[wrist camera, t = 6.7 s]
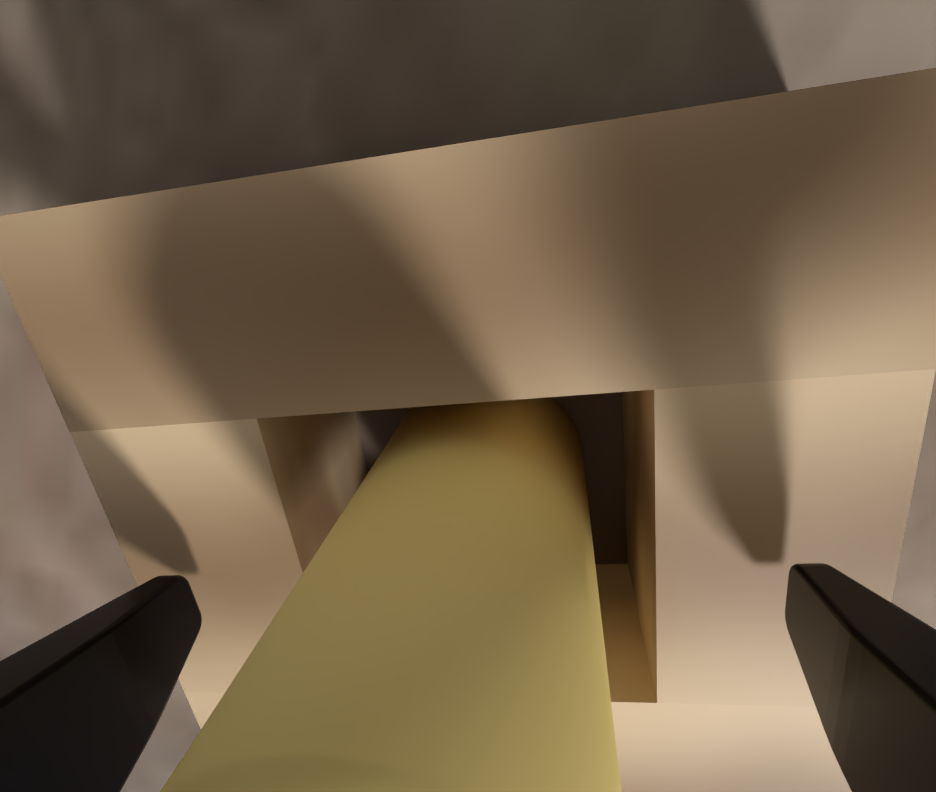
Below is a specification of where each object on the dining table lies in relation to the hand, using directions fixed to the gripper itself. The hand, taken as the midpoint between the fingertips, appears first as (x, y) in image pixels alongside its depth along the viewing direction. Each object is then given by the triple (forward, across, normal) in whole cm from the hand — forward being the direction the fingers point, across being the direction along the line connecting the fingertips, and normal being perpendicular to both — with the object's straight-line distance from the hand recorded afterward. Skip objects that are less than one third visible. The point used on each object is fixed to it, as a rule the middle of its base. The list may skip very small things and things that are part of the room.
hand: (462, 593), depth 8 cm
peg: (+4, 0, 0) cm, 4 cm away
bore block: (+5, 0, +2) cm, 5 cm away
